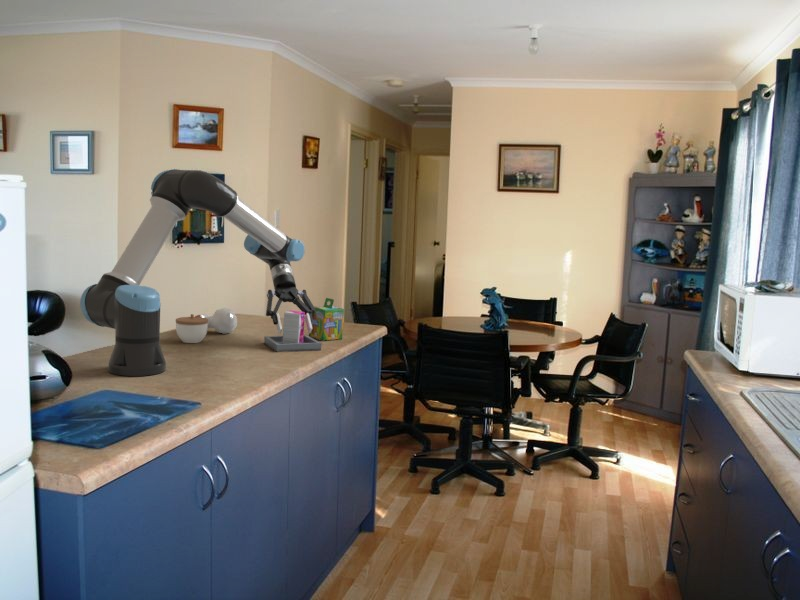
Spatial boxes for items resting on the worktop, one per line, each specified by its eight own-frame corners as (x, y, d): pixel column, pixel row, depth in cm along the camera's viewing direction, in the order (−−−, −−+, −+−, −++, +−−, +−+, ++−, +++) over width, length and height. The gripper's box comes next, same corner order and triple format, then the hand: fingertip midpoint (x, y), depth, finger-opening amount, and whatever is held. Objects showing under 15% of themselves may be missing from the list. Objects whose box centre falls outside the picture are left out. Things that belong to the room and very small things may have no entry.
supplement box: (298, 347, 247) (299, 313, 246) (281, 345, 248) (282, 312, 247) (303, 344, 253) (305, 311, 251) (287, 342, 254) (288, 310, 252)
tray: (276, 351, 240) (277, 344, 240) (264, 343, 254) (264, 336, 253) (321, 350, 247) (321, 343, 247) (306, 341, 261) (306, 335, 260)
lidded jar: (169, 342, 246) (169, 315, 245) (185, 337, 256) (186, 311, 255) (197, 345, 244) (198, 317, 242) (213, 340, 254) (214, 313, 253)
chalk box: (308, 337, 270) (309, 297, 268) (328, 335, 276) (330, 296, 274) (323, 341, 263) (324, 300, 261) (343, 339, 269) (345, 299, 267)
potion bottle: (237, 338, 267) (198, 340, 269) (243, 320, 274) (205, 322, 276) (230, 320, 261) (190, 322, 263) (236, 302, 268) (197, 304, 270)
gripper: (254, 272, 251) (265, 325, 239) (316, 273, 261) (329, 323, 249) (249, 286, 257) (260, 338, 245) (310, 286, 267) (324, 336, 254)
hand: (295, 331), depth 247 cm, fingers open, 10 cm apart
